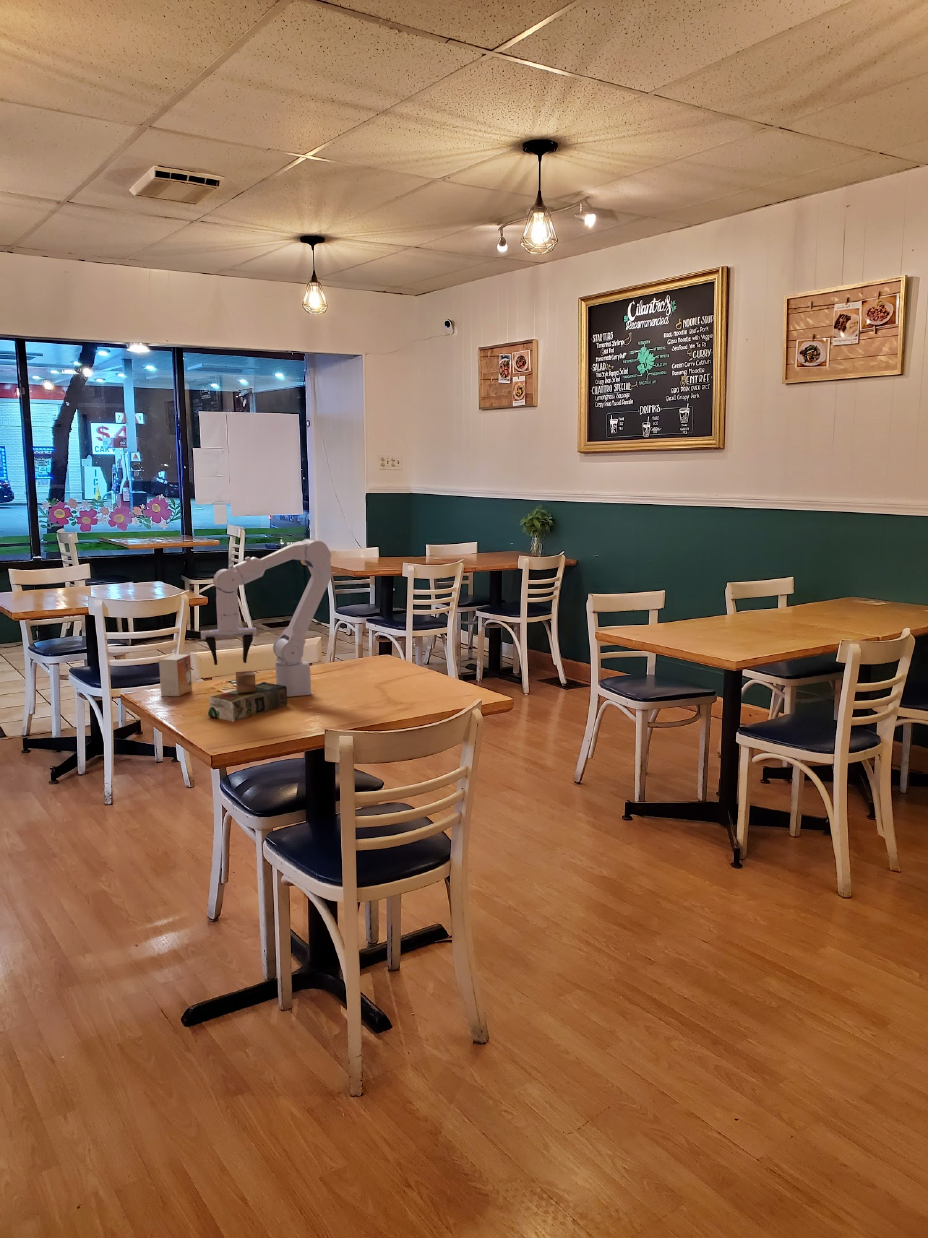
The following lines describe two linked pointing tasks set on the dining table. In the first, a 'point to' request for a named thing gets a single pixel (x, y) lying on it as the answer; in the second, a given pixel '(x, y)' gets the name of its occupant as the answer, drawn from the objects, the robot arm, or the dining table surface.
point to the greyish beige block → (245, 681)
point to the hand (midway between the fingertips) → (230, 663)
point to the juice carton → (247, 702)
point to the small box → (175, 675)
